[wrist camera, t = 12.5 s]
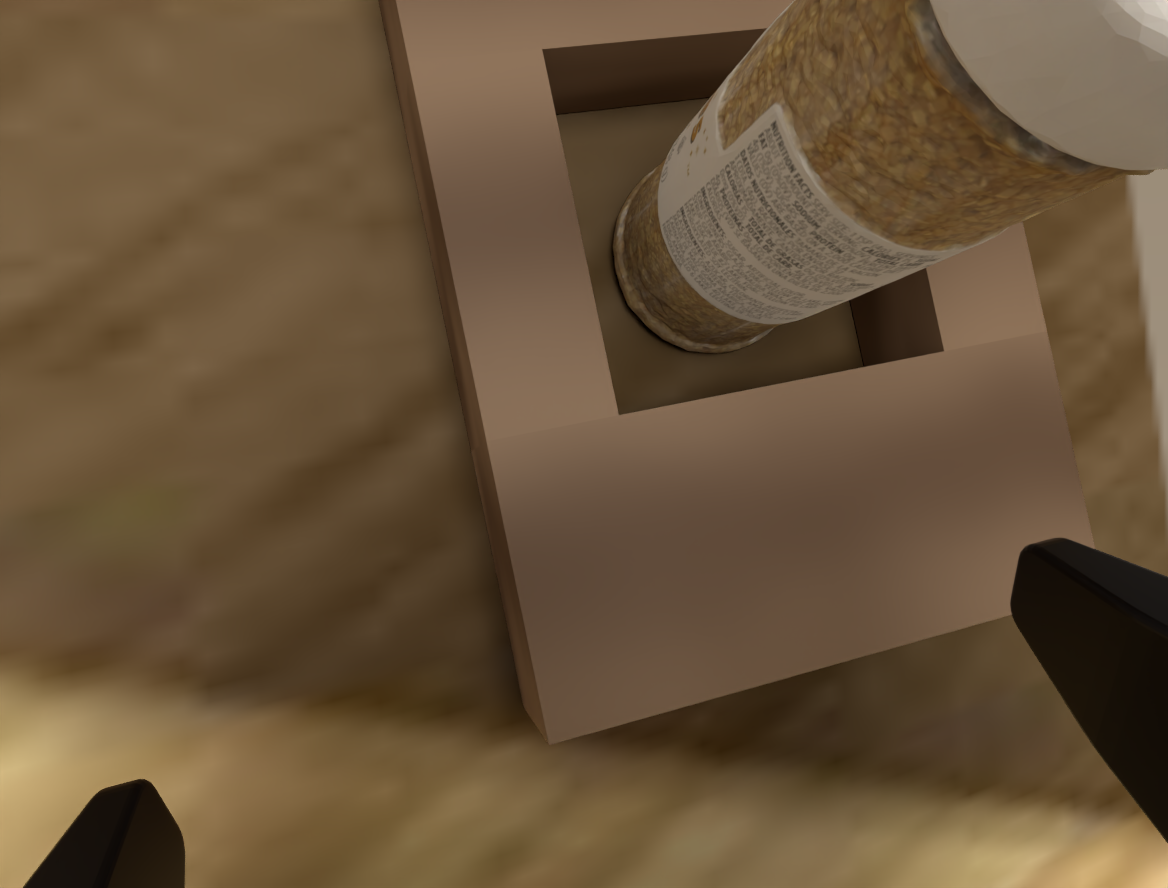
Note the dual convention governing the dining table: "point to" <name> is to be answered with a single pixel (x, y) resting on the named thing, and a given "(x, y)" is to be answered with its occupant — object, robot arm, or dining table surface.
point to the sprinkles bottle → (884, 152)
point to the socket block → (705, 399)
